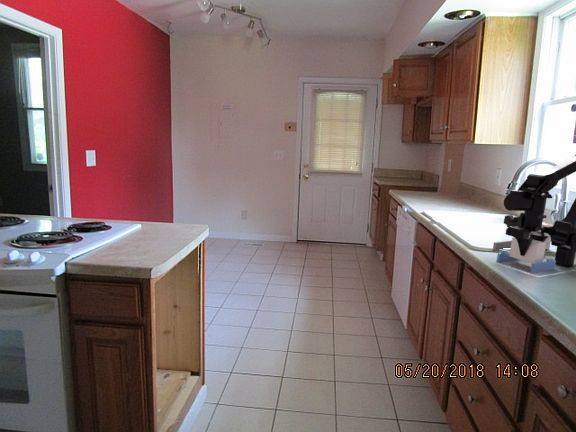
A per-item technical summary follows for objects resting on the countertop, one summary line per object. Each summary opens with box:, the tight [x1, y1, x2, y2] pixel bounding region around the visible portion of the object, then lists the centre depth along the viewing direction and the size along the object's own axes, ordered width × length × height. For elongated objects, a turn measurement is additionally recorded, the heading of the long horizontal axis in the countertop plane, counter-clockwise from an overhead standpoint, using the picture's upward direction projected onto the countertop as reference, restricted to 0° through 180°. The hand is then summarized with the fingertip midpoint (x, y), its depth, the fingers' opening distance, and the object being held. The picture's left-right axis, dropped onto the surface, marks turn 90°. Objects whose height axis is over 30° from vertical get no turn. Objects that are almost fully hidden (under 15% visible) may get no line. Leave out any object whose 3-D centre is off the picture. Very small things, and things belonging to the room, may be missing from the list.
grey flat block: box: [492, 239, 547, 258], centre depth 151 cm, size 12×13×3 cm
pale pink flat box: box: [509, 236, 546, 263], centre depth 135 cm, size 4×9×7 cm, turn 27°
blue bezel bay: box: [496, 250, 557, 274], centre depth 136 cm, size 12×13×4 cm
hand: (526, 255), depth 135 cm, fingers closed on pale pink flat box, 4 cm apart
